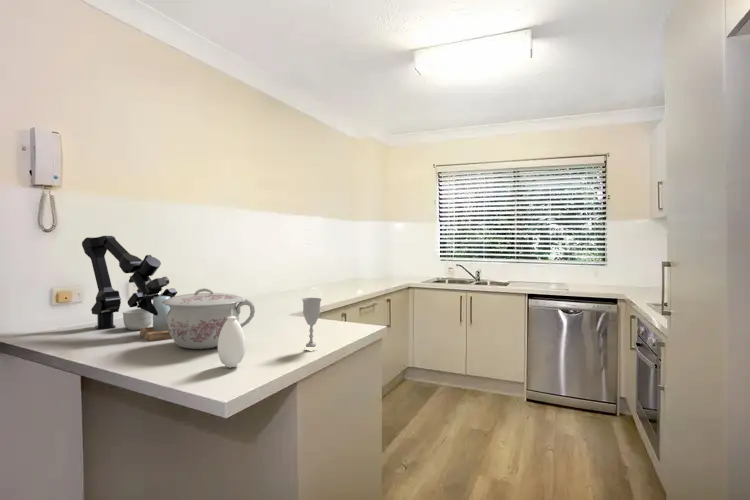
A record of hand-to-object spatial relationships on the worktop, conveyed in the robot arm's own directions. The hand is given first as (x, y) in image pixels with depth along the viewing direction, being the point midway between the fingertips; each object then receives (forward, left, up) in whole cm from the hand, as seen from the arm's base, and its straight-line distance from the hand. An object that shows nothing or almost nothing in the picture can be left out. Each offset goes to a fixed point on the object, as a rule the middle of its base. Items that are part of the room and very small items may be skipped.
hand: (164, 313), depth 164 cm
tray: (-1, -1, -9) cm, 9 cm away
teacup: (-22, -4, -9) cm, 24 cm away
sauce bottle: (+54, +5, -9) cm, 55 cm away
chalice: (+52, +34, -9) cm, 63 cm away
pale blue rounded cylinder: (-1, -1, -7) cm, 7 cm away
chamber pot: (+23, +8, -9) cm, 26 cm away
